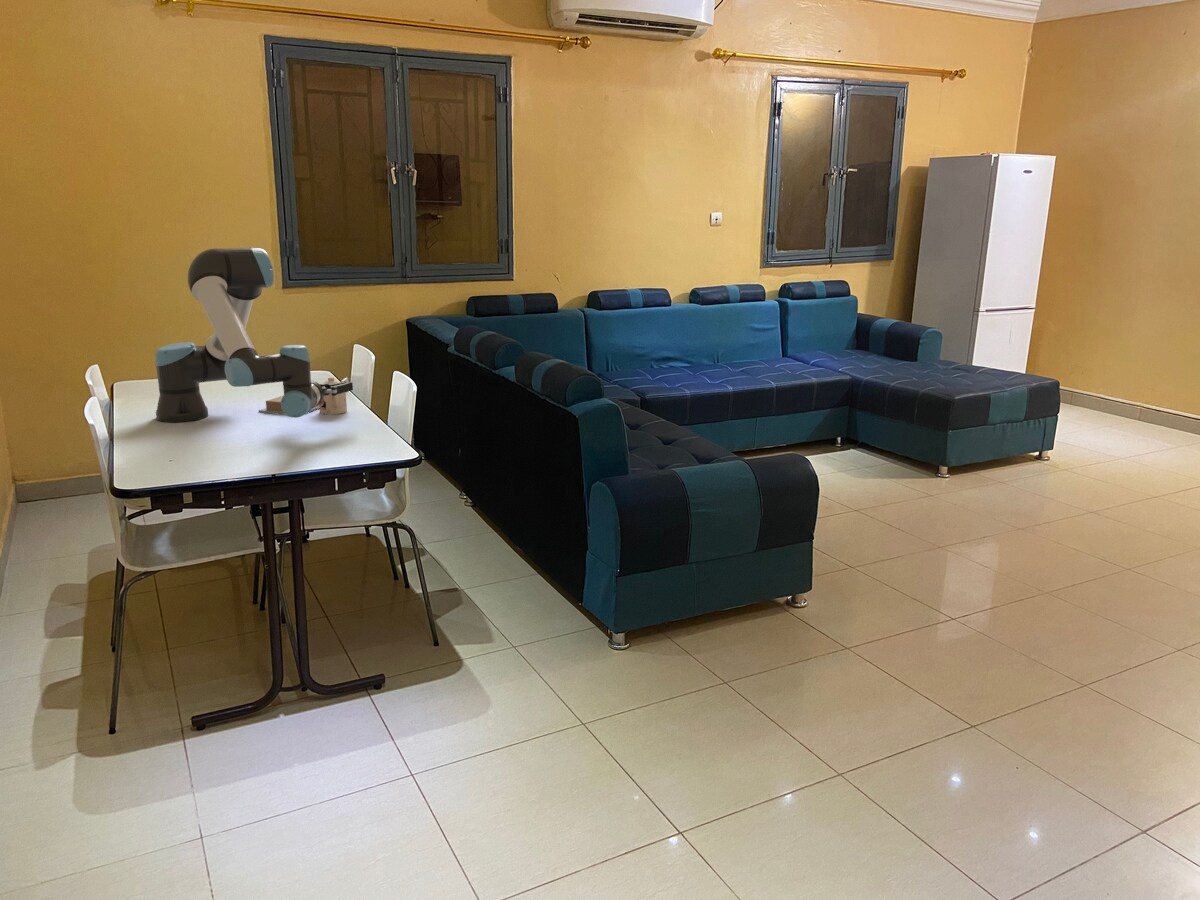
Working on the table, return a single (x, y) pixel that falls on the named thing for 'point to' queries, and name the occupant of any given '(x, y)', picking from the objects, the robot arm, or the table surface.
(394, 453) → the table surface
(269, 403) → the build base
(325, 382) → the teacup with lid
